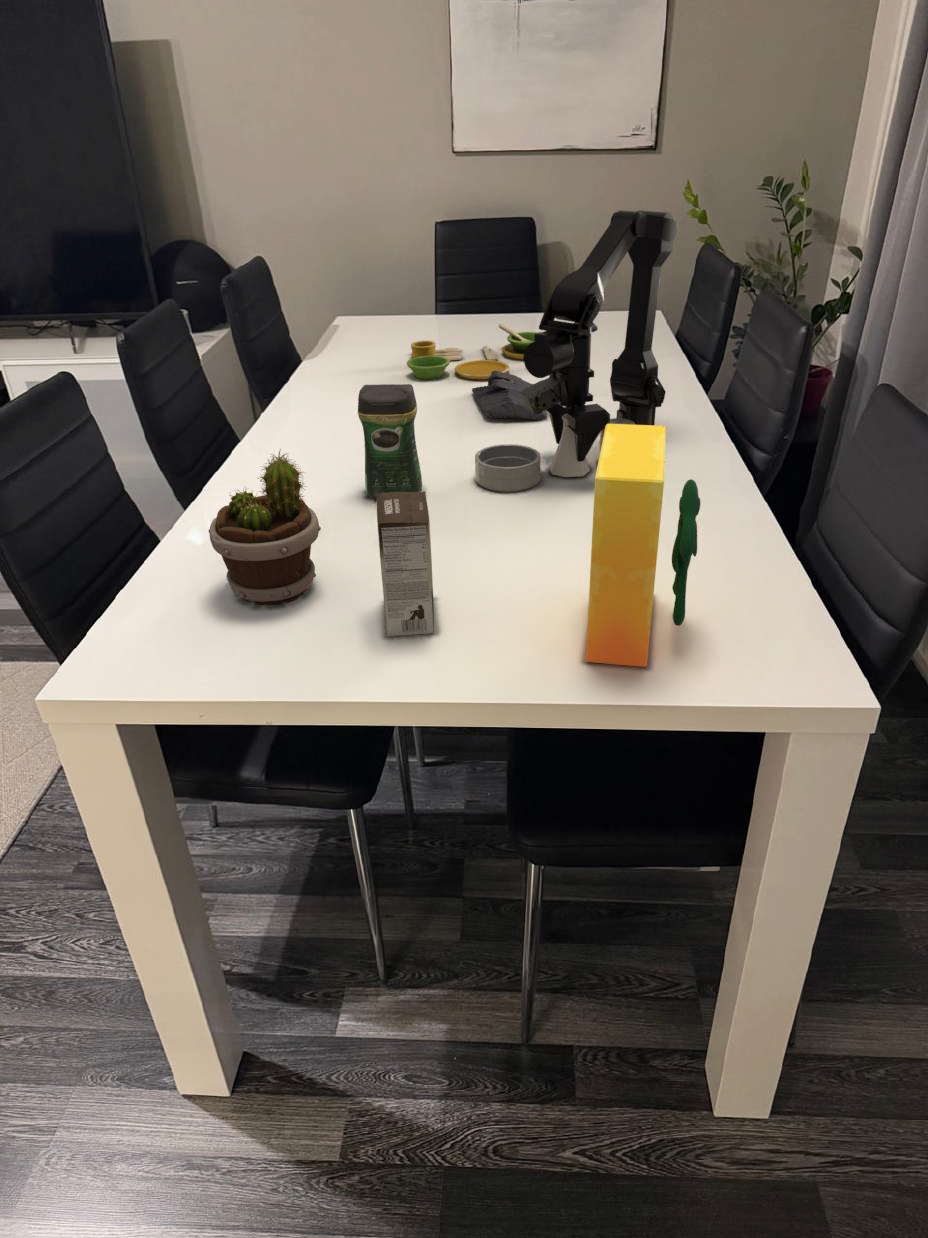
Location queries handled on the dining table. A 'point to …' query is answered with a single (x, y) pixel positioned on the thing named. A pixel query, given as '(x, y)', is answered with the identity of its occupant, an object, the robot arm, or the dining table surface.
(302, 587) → the flowerpot
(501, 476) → the bowl
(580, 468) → the flask
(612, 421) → the tin can
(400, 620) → the coffee box
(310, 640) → the dining table surface
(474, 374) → the tableware set
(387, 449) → the coffee jar
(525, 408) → the dark grey cloth
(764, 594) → the dining table surface
